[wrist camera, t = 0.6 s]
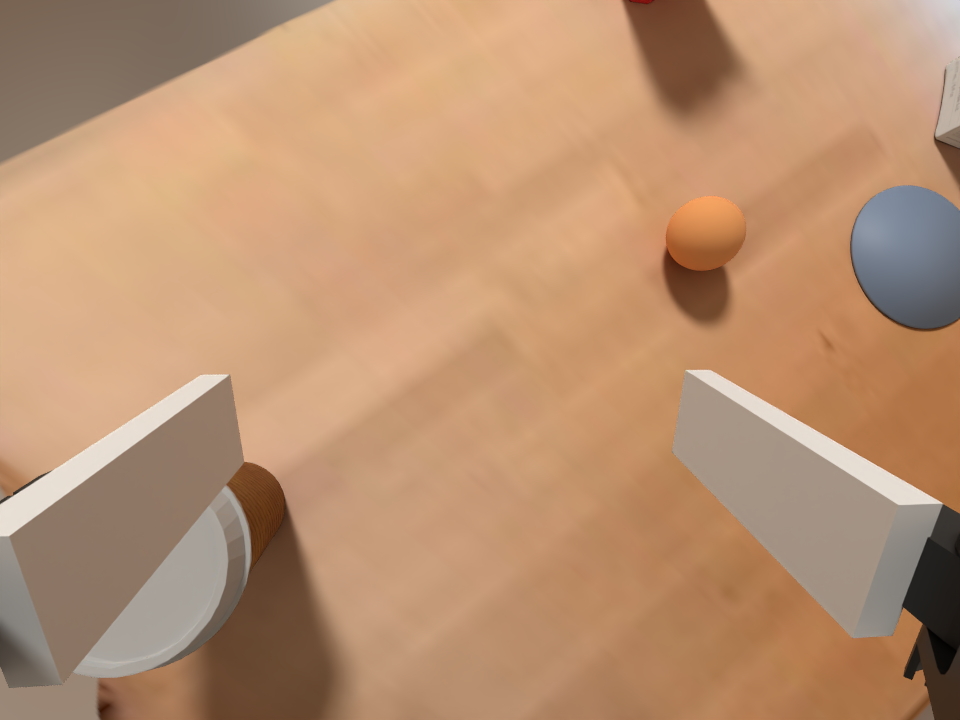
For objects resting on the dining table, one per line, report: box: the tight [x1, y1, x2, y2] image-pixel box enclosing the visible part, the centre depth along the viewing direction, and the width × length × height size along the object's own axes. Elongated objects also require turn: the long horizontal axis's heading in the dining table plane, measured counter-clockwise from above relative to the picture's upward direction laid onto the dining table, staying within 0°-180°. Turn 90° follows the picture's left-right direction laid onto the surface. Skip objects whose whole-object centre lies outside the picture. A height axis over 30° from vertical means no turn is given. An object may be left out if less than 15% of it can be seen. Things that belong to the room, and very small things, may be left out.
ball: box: [666, 196, 746, 271], centre depth 34 cm, size 6×6×6 cm
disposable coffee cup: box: [72, 462, 285, 678], centre depth 25 cm, size 10×10×12 cm
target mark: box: [851, 186, 960, 329], centre depth 40 cm, size 13×13×1 cm
